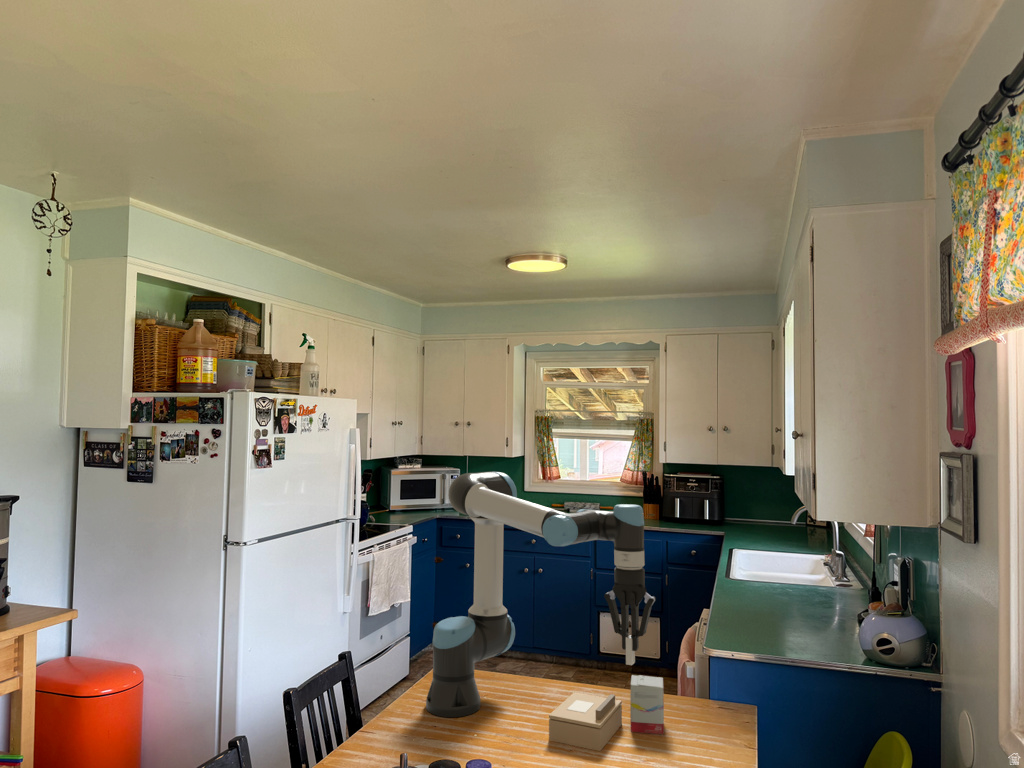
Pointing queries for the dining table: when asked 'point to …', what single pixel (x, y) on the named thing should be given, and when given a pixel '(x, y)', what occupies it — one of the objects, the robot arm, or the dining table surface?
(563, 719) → the lid
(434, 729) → the dining table surface
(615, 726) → the box
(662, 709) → the ink box
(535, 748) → the dining table surface
